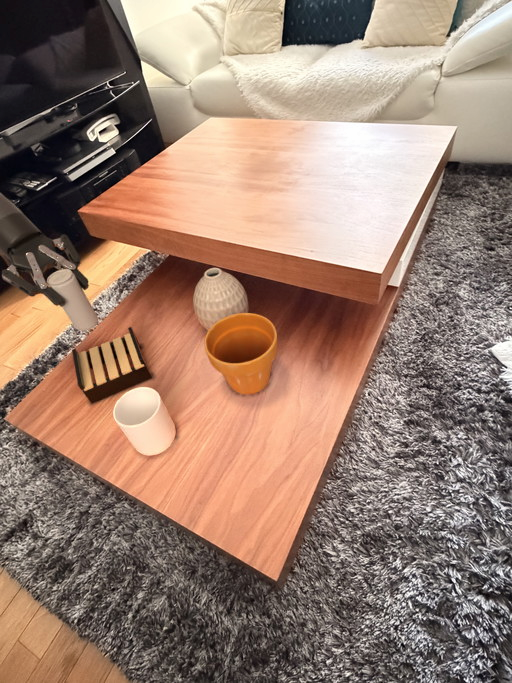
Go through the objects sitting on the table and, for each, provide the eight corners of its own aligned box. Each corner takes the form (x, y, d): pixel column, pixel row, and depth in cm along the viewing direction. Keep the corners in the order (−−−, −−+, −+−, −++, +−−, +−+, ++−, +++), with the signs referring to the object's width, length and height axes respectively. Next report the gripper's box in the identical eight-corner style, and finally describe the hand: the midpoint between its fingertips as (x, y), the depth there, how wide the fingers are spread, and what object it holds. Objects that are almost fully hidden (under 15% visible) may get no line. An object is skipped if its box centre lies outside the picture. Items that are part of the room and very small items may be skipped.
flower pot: (294, 388, 81) (289, 345, 71) (231, 416, 78) (218, 375, 69) (265, 346, 90) (258, 303, 81) (208, 370, 87) (194, 328, 78)
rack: (91, 404, 85) (78, 385, 80) (84, 368, 93) (71, 349, 88) (152, 377, 88) (142, 358, 83) (140, 345, 96) (131, 326, 91)
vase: (221, 354, 90) (205, 299, 78) (191, 328, 98) (173, 274, 86) (262, 326, 95) (253, 270, 83) (231, 303, 103) (219, 249, 91)
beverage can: (70, 328, 79) (40, 281, 70) (88, 314, 82) (60, 266, 73) (87, 335, 77) (57, 286, 68) (104, 319, 80) (78, 271, 71)
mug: (143, 406, 83) (124, 374, 75) (185, 429, 77) (170, 397, 69) (113, 437, 78) (90, 407, 70) (156, 464, 72) (136, 434, 65)
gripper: (38, 217, 77) (101, 282, 80) (-30, 255, 69) (42, 325, 72) (39, 196, 70) (108, 267, 73) (-36, 235, 63) (43, 312, 66)
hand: (75, 295), depth 73 cm, fingers closed on beverage can, 5 cm apart
